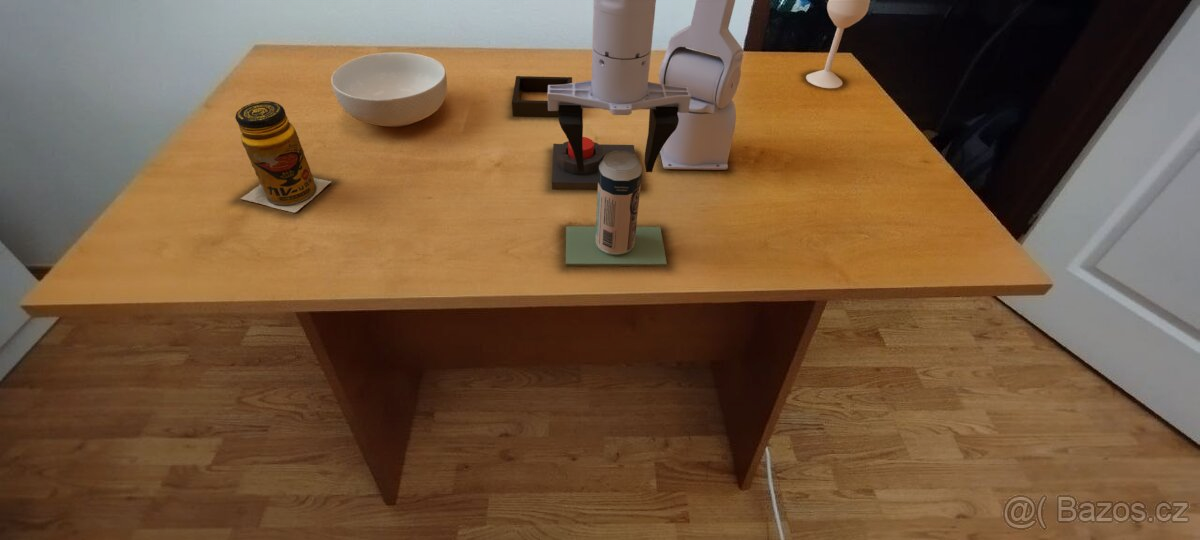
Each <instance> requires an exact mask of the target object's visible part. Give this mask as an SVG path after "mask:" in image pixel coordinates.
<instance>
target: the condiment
mask: <svg viewBox="0 0 1200 540" xmlns="http://www.w3.org/2000/svg"><path fill="white" fill-rule="evenodd" d="M234 119H235V121H236V122H237V124H238V129H239V130H240V132H241V134H240V139H241V144H242V146H243V148H244V149H245V153H246V155H247V157H248V159H249V161H250V164H251V166H252V168H253V170H254V173H255V176H256V177H257V179H258V181H259V184H258V185H257V186H256V187H254V188H253V189H251V190H250V191H249V192H248V193H246V194H244V195H243V196H242V197H240V200H243V201H248V202H252V203H256V204H260V205H264V206H266V207H270V208H273V209H278V210H282V211H287V212H290V213H297V212H299V210H301V209H302V208H304V207H305V206H306V205H307V204H308V203H310V202H311V201H312V200H313V199H314V198H315V197H316V196H318V195H319V194H320V193H321V192H322V191H323V190H324V189H325V188H326V187H327V186H328V185H330V183H332V180H326V179H321V178H318V177H314V176H313V174H312V171H311V167H310V165H309V163H308V161H307V157H306V155H305V151H304V148H303V146H302V144H301V141H300V138H299V137H300V136H299V135H298V132H297V131H296V128H295V127H294V125H293V124H292V123H291V122H289V121H290V120H289V117H288V116H287V114H286V110H285V108H284V107H283V106H282V105H281V104H280V103H278V102H275V101H271V100H263V101H256V102H252V103H249V104H246V105H243V106H242V107H241V108H240V109H239V110H238V111H236V113H235V117H234Z"/></svg>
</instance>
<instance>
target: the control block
mask: <svg viewBox="0 0 1200 540" xmlns="http://www.w3.org/2000/svg"><path fill="white" fill-rule="evenodd" d="M568 142H569V140H567V141H565V142H562V143H553V145H552V167H551V168H552V169H551V190H577V191H578V190H579V191H580V190H584V191H587V190H588V191H589V190H595V191H598V170H599V164H600V163H601V161H602V160H603V158H604V157H605V155H606V154H608V153H610V152H613V151H627V152H629V153H632V154H634V155H636V150H635V145H634V144H605V143H604V144H602V143H601V144H600V143H598V142H595V141H593V142H594V155H593V157H592V158H588V159H585V160H584V171H583V172H578V171H577V164H576V159H574V158H571V157H569V155H568Z"/></svg>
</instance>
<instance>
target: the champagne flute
mask: <svg viewBox="0 0 1200 540" xmlns="http://www.w3.org/2000/svg"><path fill="white" fill-rule="evenodd" d="M870 4H871V0H828V2H827V4H826V10H827V14H828V16H829V18H830V20H831V21H832V23H833V25H834V26H835V27H836V31H835V33H834V37H833V40H832V44H831V47H830V50H829V53H828V55H827V59H826V62H825V65H824V69H821V70H817V71H814V72H810V73H808V74H806V76H805V80H806V81H807V82H808V83H810V84H811V85H814V86H816V87H819V88H823V89H837V88H840V87H842V86H843V80H842V79H841V78H839V77H838V76H837V75H836V74H835V73H834V72H833V71H832V68H833V65H834V61H835V58H836V55H837V52H838V49H839V46H840V42H841V40H842V36H843V34H844V31H845V29H847V28H850V27H851V26H854V24H857V23H858V22H859V21H861V20H862V19H864V17H865V16H866V15H867V13H868V11H869V7H870Z"/></svg>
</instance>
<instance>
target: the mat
mask: <svg viewBox="0 0 1200 540" xmlns="http://www.w3.org/2000/svg"><path fill="white" fill-rule="evenodd" d="M595 239H596V225H595V226H591V225H590V226H589V225H587V226H586V225H585V226H584V225H583V226H579V225H578V226H577V225H575V226H574V225H567V226H565V266H566V267H667V266H668V262H667V256H666V250H665V245H664V244H665V243H664V238H663V233H662V229H661V226H636V235H635V244H634V246H633V248H632V249H631V250H630V251H628V252H627V253H624V254H617V255H616V254H609V253H606V252H604V251H602V250H601V249H599V248H598V246H597V245H596V241H595Z"/></svg>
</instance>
